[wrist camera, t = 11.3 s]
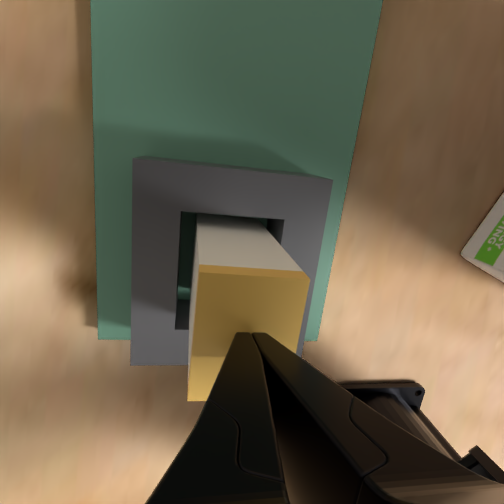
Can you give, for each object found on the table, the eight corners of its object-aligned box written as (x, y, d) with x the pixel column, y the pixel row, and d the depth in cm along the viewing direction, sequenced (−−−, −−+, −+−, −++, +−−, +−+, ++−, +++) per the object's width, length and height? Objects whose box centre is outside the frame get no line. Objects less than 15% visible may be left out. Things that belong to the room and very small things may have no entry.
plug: (257, 218, 17) (310, 279, 9) (246, 291, 18) (286, 400, 10) (196, 212, 16) (199, 272, 8) (190, 288, 17) (187, 401, 10)
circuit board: (385, -68, 15) (398, -83, 14) (311, 332, 20) (316, 341, 19) (94, -148, 12) (86, -172, 11) (102, 329, 18) (98, 339, 17)
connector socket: (309, 173, 16) (333, 179, 13) (284, 331, 19) (299, 364, 16) (143, 155, 15) (132, 158, 12) (140, 329, 17) (130, 365, 14)
